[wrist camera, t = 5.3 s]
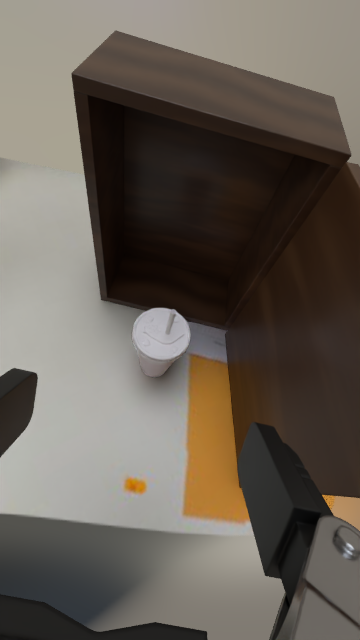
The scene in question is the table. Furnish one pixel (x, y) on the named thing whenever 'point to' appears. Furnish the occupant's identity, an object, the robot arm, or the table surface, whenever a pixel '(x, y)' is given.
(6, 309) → the table surface
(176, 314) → the smoothie
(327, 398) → the cupboard door
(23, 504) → the table surface
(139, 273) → the cupboard
